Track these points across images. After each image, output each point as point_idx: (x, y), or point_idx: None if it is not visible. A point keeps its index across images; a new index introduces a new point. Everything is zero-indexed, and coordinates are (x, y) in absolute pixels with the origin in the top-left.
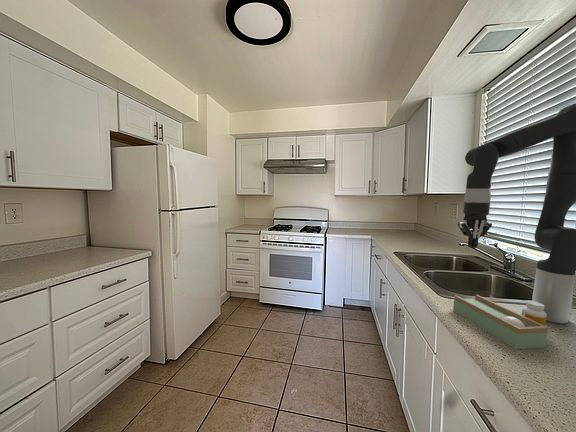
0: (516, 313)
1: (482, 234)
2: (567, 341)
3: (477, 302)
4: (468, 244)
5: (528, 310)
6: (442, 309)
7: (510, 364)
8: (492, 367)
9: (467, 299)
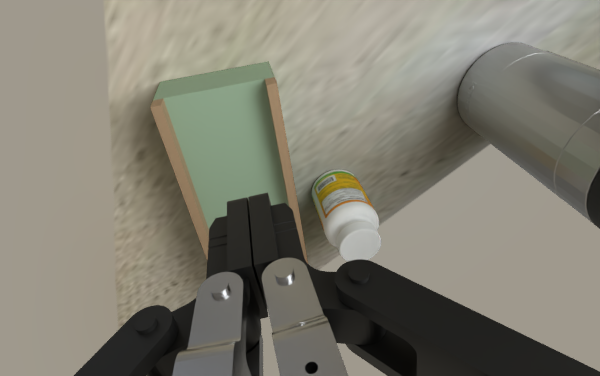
0: (296, 225)
1: (359, 343)
2: (386, 214)
3: (245, 119)
4: (210, 236)
5: (330, 237)
6: (117, 73)
7: (165, 306)
8: (119, 320)
9: (219, 93)
